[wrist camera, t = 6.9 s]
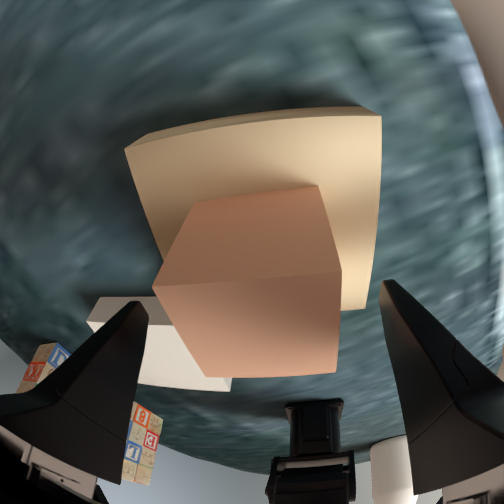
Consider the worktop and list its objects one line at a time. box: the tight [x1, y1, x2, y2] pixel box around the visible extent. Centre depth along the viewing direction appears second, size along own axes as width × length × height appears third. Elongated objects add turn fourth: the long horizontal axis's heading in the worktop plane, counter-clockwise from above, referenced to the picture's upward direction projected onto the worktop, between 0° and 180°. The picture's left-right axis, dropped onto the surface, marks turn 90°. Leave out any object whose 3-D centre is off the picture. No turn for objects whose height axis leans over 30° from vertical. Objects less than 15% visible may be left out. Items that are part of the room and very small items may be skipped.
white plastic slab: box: [86, 297, 232, 392], centre depth 21 cm, size 9×9×3 cm
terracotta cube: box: [152, 186, 342, 378], centre depth 10 cm, size 5×5×5 cm
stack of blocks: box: [16, 343, 163, 485], centre depth 28 cm, size 21×6×12 cm, turn 25°
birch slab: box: [124, 106, 382, 311], centre depth 13 cm, size 10×10×3 cm
